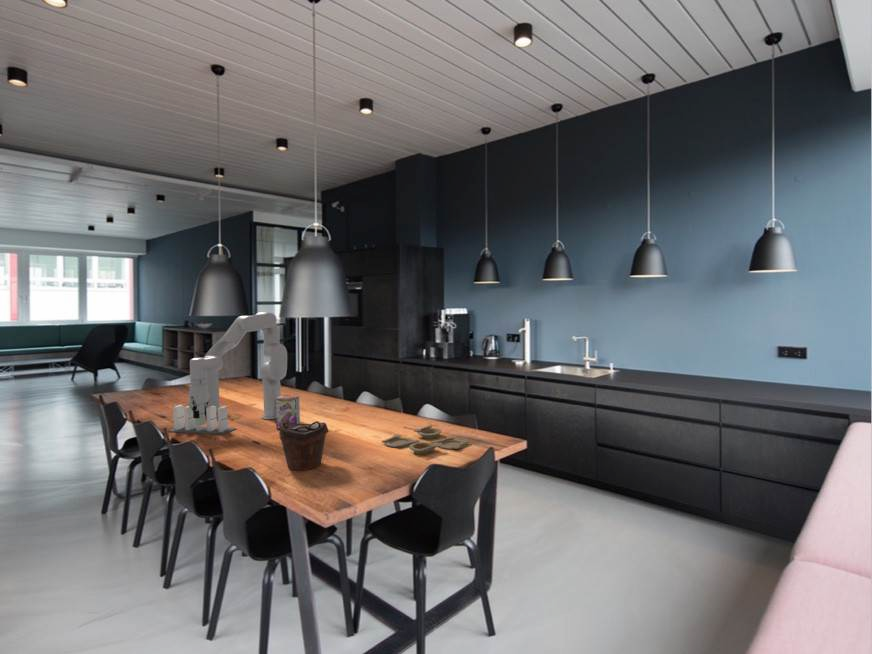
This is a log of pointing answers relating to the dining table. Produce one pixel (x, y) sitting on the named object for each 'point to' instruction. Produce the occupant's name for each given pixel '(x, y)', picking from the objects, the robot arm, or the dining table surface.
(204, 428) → the rubber mat
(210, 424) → the domino
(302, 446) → the brown basket
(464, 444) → the tableware set
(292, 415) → the candy bar box
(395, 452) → the dining table surface
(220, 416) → the domino
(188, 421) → the domino
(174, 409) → the domino
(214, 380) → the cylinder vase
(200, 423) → the domino
